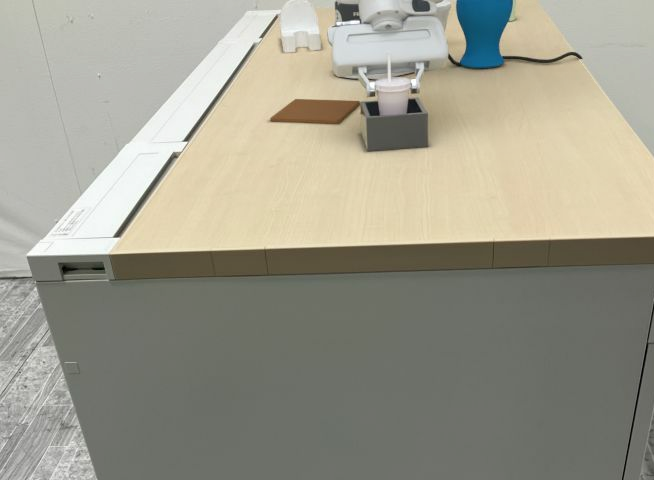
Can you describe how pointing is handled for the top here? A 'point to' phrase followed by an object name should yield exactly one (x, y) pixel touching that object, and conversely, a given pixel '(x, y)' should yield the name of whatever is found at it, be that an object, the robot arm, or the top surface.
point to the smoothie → (392, 93)
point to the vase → (483, 30)
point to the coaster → (315, 111)
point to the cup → (443, 11)
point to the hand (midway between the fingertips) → (393, 93)
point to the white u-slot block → (299, 26)
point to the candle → (513, 11)
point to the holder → (394, 127)
